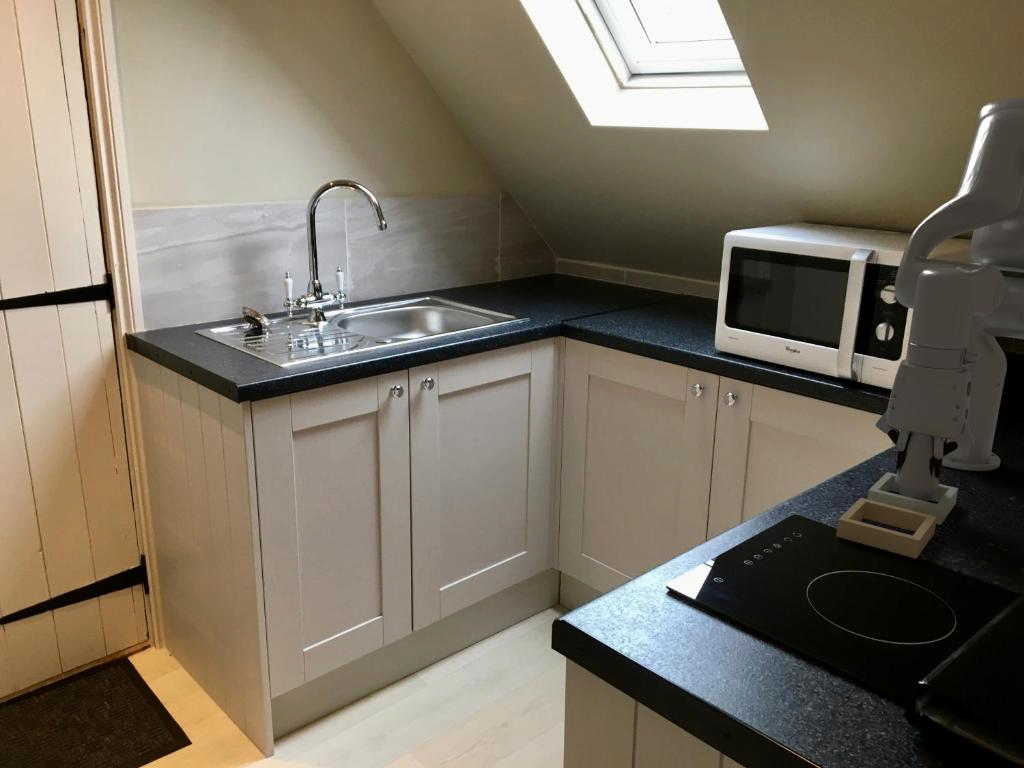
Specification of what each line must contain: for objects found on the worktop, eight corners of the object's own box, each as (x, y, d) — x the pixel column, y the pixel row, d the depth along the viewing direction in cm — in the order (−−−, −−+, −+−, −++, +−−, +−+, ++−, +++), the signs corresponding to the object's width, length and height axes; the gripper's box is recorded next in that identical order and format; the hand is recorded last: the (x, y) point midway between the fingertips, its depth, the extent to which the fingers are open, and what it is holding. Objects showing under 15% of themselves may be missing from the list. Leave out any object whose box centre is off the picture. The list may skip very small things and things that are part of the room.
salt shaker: (923, 489, 129) (936, 407, 125) (943, 505, 123) (957, 419, 120) (885, 489, 129) (897, 407, 125) (904, 505, 123) (917, 419, 120)
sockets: (884, 487, 132) (887, 472, 132) (955, 504, 127) (958, 488, 126) (836, 536, 114) (838, 519, 113) (916, 558, 108) (919, 540, 107)
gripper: (1005, 361, 118) (983, 484, 123) (882, 343, 128) (866, 458, 133) (996, 371, 113) (973, 500, 117) (867, 352, 122) (851, 472, 127)
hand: (917, 476), depth 125 cm, fingers closed on salt shaker, 3 cm apart
